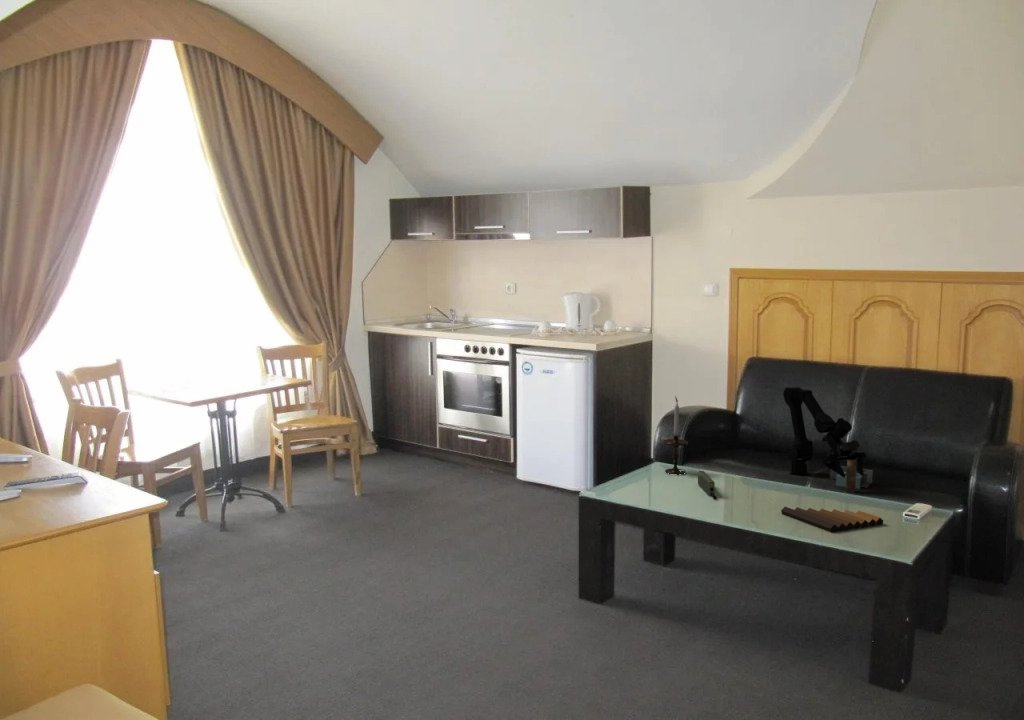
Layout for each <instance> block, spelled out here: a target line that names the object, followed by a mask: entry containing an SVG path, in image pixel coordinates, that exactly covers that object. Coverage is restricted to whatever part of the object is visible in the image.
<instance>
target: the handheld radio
mask: <svg viewBox="0 0 1024 720" xmlns="http://www.w3.org/2000/svg"><path fill="white" fill-rule="evenodd" d="M697 486H699V487H700V489H701V490H702V491H703V492H704V493H705V494H706V495H707V496H708V498H709V497H710V498H712V499H713V500H717V498H718V497H717V496H716V494H715V492H716V490H715V489H716V488H715V486H716V485H715V480H713V479H712V478H711V477H710V476H709V475H708V474H707V473H706V472H705V471H704V470H698V471H697Z"/></svg>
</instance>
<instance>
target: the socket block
mask: <svg viewBox="0 0 1024 720" xmlns="http://www.w3.org/2000/svg"><path fill="white" fill-rule="evenodd" d="M844 474H845V477H844V478H843V477H842V476H840V475H839V474H838V475H836V480H835V486H839V487H844V488H846V479H847V472H844ZM861 486H862V476H861V475H860V474H858V473H856V487H855V489H861V488H862V487H861ZM860 487H861V488H860Z"/></svg>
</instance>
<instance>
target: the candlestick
mask: <svg viewBox="0 0 1024 720" xmlns="http://www.w3.org/2000/svg"><path fill="white" fill-rule="evenodd" d="M674 398H675V402H676V403H675V406H674V415H673V416H674V419H673V420H674V424H673V434H671V436H672V437H673V438H667V439H664V440H663V444H664V445H665V446H671V447H673V449H674V450H673V451H674V452H673V453H674V454H673V455H672V459H673V460H672V463H673V467H672V468H667V469H665V471H664V473H665V472H666V473H669V474H668V475H670V474H684V473H685V472H686V470H684V469H681V468H678V463H679V461H678V460H679V457H680V456H679V455H678V448H679V447H683V446H688V445H689V440H686V439H679V437H681V434H679V422H680V421H679V420H680V418H679V417H680V416H679V415H680V406H679V404H678V398H677V396H676V395H675V396H674ZM679 470H684V471H681V472H680V471H679ZM666 473H665V474H666ZM685 474H686V473H685ZM685 474H684V475H685Z"/></svg>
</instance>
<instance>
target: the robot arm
mask: <svg viewBox="0 0 1024 720" xmlns="http://www.w3.org/2000/svg"><path fill="white" fill-rule="evenodd" d="M782 396H783V399H784V402H785V404H786V405H787V407H789V412H790V418H791V423H792V430H793V436H794V441H793V442H792V446H791V447H792V450H791V452H789V453H788V455H787V457H788V458H787V459H788V460H789V461H791V467H790V471H791V472H790V473H789V474H790V475H796V476H803V477H804V476H806V475H808V474H809V470H810V468H809V465H810V464H809V462H810V461H811V460H812V458H813V455H814V450H815V449H814V446H813V441H812V440H809V439H808V437H807V433H806V427H805V421H804V413H803V409H802V405H803V404H804V405H805V407H806V409H807V410H808V411H809V413H810V414H811V416H812V418H813V420H814V421H813V425H814V427H815V429H816V431H817V432H818V433H819V434H825V435H823V436H822V439H821V442H822V443H826V444H827V445H828V447H829V453H828V454H826V455H825V456H824V458H823V459H822V460H821V463H822V465H823V467H824V468H825V467H826V468H827V469H829V470H830V469H831V470H833V471H835V472H836V473H838V474H839V475H840V476H842V477H843V478H844V477H845V474H844V472H843V470H842V468H841V466H842V465H841V462H847V460H856V461H857V465H856V470H857V472H858V473H859V474H860V475H861V476H863V469H864V468H863V461H864V460H865V458H867V454H866V453H865V451H863V450H862V451H858V448H860V443H859V442H858V440H857V439H855V440H851V441H849V442H844V441H843V440H842V439H844V438H845V437H846V436H847V435H848V434H849V433H850V432H851V431H852V429H853V426H852V424H851V423H849V422H848V421H847V420H845V419H844V418H843V417H839V418H838V419H837V420H836V421H835V420H834V418H832V417H831V416H830V415H829V414H827V413H826V412H824V410H823V409H822V407H821V405H820V404H819V402H818V401H817V399H816V397H814V395H813V391H812V390H811V389H803V388H801V386H795V387H794V386H792V387H790V386H789V387H786V388H785V389H784V390H783V392H782ZM853 451H855V452H854V453H853ZM852 453H853V454H852ZM807 473H808V474H807Z"/></svg>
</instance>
